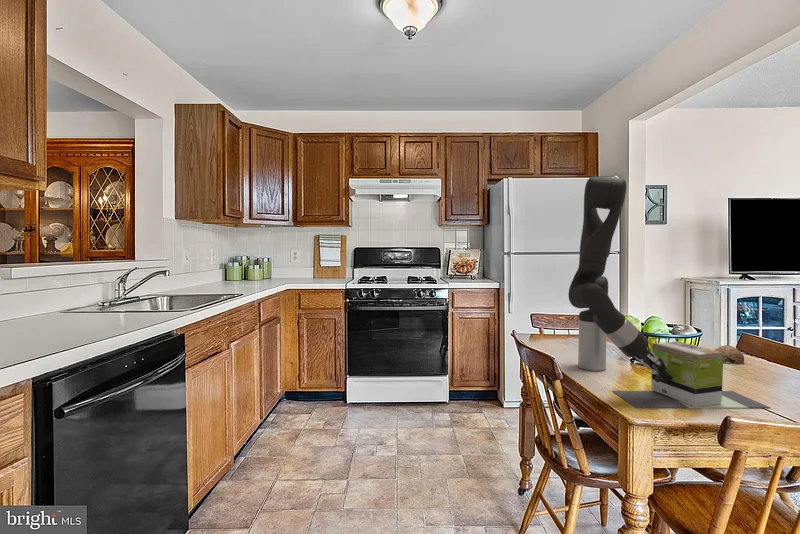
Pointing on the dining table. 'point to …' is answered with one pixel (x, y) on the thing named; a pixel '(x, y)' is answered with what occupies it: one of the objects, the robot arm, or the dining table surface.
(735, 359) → the bread roll
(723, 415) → the dining table surface
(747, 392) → the dining table surface
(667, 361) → the tea box
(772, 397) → the dining table surface
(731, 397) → the mat
